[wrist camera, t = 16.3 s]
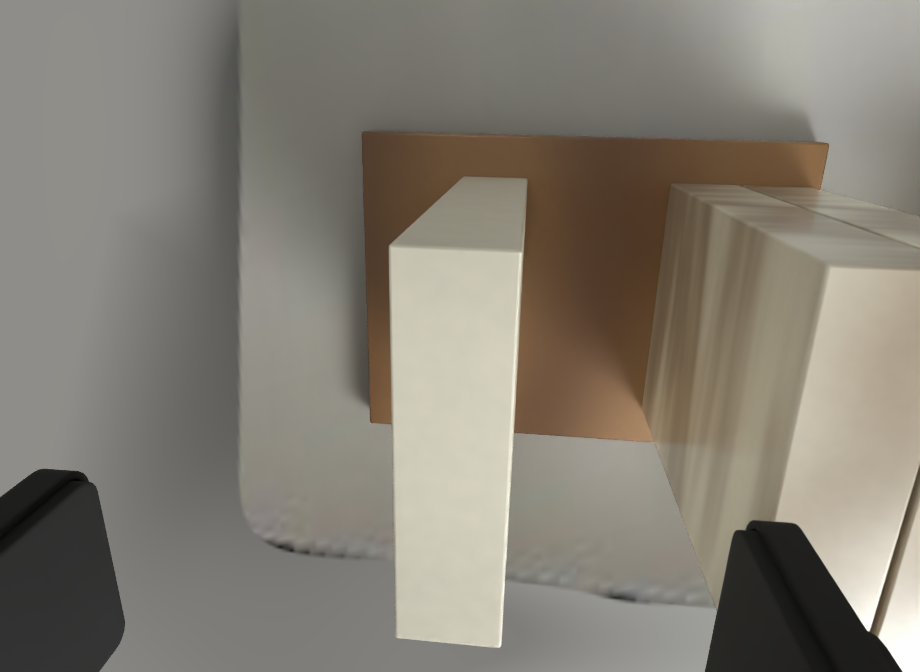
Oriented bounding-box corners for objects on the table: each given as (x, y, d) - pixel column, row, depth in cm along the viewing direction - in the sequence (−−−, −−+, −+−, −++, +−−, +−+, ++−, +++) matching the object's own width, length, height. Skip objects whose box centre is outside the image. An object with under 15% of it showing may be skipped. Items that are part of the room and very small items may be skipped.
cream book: (458, 397, 27) (394, 639, 14) (462, 176, 24) (387, 244, 11) (515, 400, 26) (500, 649, 14) (527, 178, 23) (522, 250, 11)
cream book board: (375, 413, 28) (239, 672, 15) (367, 130, 24) (174, 152, 11) (759, 439, 27) (977, 753, 14) (818, 141, 23) (1206, 180, 10)
